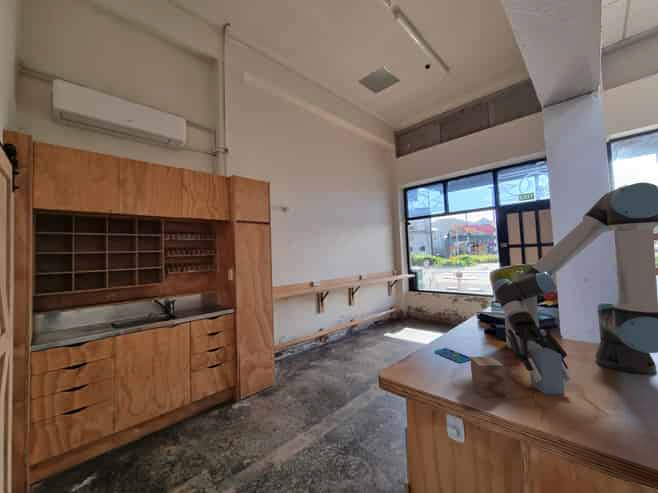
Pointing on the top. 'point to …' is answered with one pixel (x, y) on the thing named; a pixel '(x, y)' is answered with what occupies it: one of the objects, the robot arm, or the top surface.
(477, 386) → the tower base
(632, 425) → the top surface
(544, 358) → the blue block
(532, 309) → the grey cylinder
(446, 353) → the handheld gaming device
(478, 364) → the tower top
